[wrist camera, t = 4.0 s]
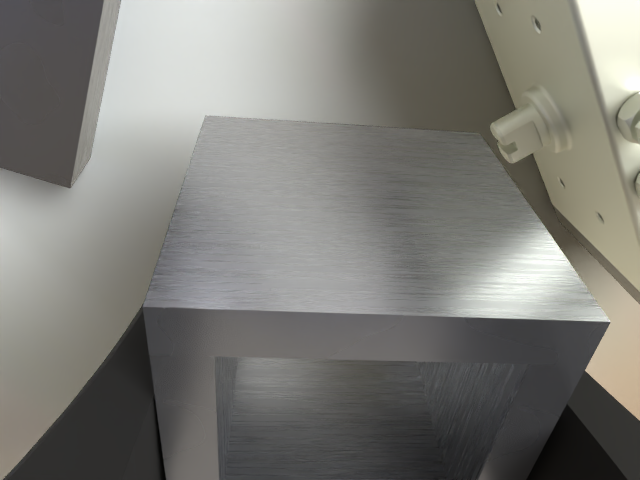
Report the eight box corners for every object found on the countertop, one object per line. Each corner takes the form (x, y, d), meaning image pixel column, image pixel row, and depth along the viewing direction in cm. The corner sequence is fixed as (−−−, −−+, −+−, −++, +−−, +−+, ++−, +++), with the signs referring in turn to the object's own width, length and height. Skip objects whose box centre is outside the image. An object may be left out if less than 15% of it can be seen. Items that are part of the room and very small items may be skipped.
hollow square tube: (212, 322, 12) (175, 549, 8) (205, 115, 10) (142, 306, 6) (426, 328, 13) (489, 547, 9) (479, 132, 10) (610, 322, 6)
